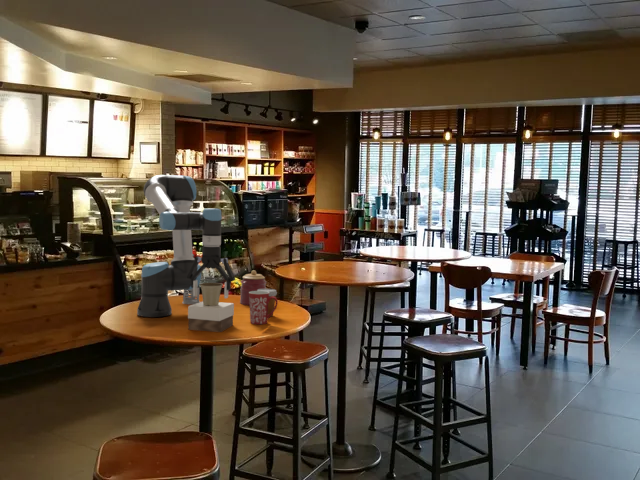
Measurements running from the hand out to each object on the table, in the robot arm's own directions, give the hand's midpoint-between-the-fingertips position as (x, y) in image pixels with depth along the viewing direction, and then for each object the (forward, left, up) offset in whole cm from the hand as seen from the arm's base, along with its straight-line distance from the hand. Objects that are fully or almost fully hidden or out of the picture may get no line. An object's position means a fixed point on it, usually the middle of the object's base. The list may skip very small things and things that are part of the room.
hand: (210, 297), depth 263 cm
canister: (+1, +57, -13) cm, 58 cm away
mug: (+18, +16, -13) cm, 27 cm away
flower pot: (0, 0, -3) cm, 3 cm away
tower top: (0, 0, -8) cm, 8 cm away
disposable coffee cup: (+15, +32, -13) cm, 38 cm away
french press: (-30, +50, -13) cm, 60 cm away
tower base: (0, 0, -13) cm, 13 cm away
